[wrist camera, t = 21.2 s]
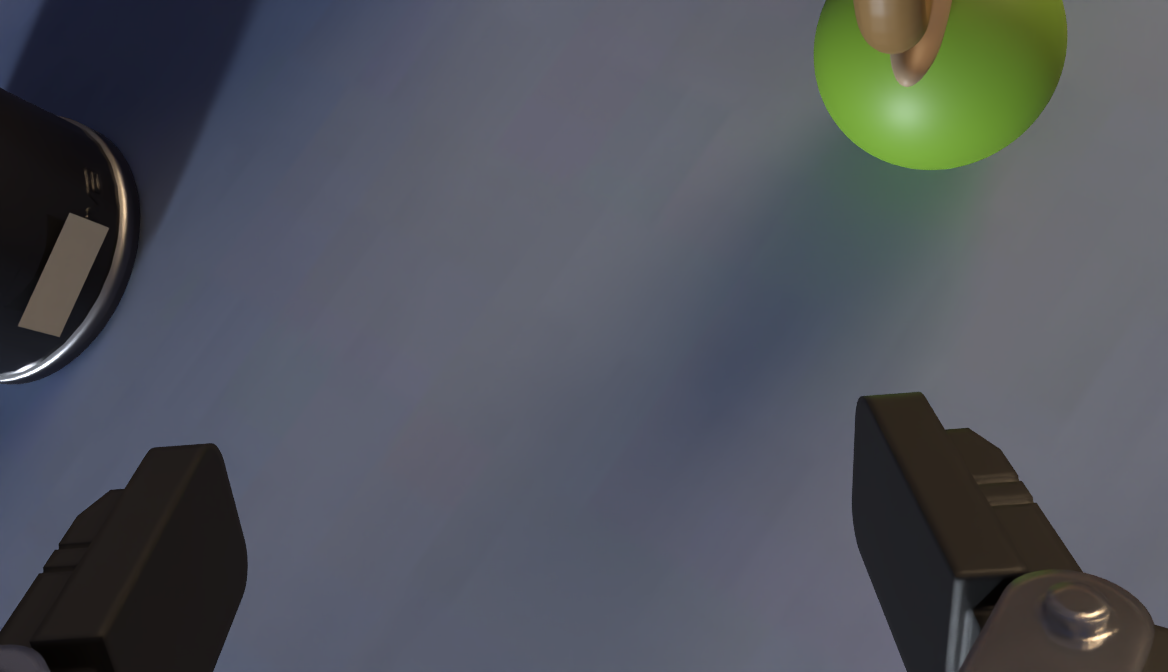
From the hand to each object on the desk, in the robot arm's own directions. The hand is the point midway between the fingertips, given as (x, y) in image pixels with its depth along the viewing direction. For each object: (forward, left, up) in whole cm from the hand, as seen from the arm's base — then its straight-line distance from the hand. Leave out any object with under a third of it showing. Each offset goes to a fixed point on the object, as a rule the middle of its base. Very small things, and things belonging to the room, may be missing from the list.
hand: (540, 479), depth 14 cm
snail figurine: (+4, +11, -14) cm, 19 cm away
